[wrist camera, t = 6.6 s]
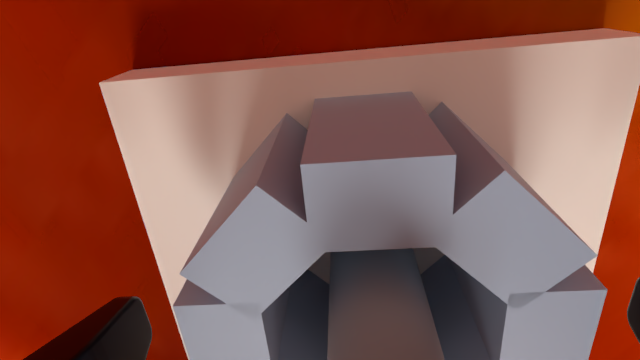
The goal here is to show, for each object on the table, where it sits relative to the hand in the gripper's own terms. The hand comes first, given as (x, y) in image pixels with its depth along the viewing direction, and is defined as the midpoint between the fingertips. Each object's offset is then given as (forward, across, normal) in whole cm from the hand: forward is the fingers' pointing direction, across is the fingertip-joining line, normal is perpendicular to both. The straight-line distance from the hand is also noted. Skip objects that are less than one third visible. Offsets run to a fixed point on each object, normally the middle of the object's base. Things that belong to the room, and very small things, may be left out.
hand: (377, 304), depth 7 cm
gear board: (+4, 0, +4) cm, 6 cm away
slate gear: (+3, 0, 0) cm, 3 cm away
